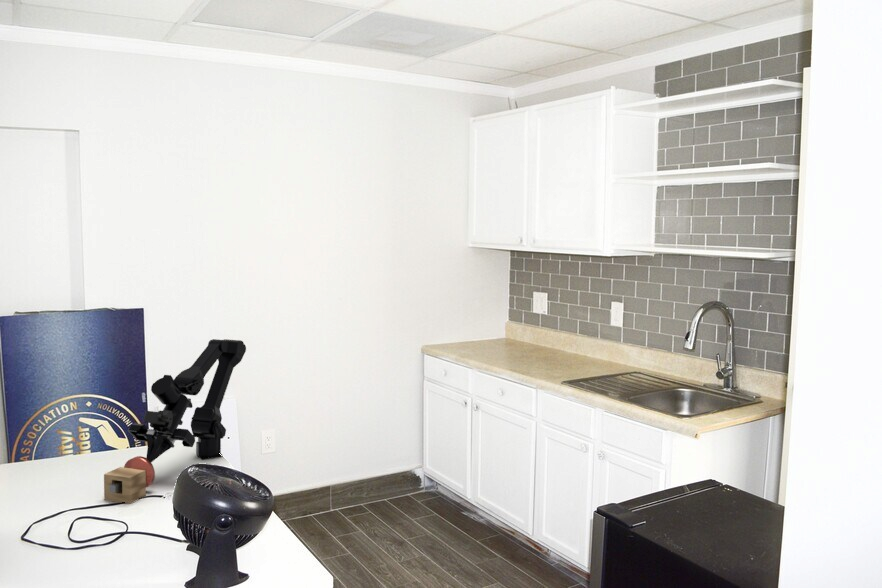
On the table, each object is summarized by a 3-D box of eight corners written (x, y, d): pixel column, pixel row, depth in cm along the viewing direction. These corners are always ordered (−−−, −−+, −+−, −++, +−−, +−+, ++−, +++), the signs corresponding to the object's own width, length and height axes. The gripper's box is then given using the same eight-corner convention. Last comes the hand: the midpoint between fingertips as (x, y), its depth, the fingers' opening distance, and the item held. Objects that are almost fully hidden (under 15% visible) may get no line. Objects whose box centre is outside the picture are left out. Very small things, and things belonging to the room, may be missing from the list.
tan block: (120, 491, 188) (120, 466, 188) (145, 495, 186) (145, 470, 186) (104, 499, 183) (103, 474, 182) (130, 503, 180) (129, 477, 180)
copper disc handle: (127, 485, 192) (127, 454, 191) (154, 489, 189) (154, 458, 188) (98, 500, 181) (97, 466, 180) (127, 504, 179) (126, 470, 178)
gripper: (131, 395, 199) (104, 444, 189) (188, 401, 194) (163, 452, 184) (150, 415, 207) (125, 463, 197) (205, 421, 202) (182, 471, 192)
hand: (148, 462), depth 193 cm, fingers closed
